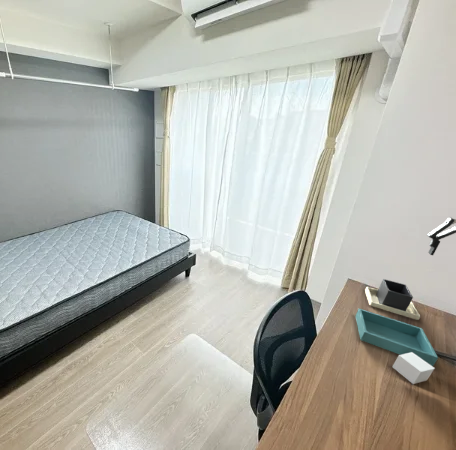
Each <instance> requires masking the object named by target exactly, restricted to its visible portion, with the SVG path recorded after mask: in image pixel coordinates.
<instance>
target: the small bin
mask: <svg viewBox="0 0 456 450" xmlns="http://www.w3.org/2000/svg"><path fill="white" fill-rule="evenodd" d="M377 290H378V291H377V294H376V295H377V298H378V301H379V304H382V305H385V306H389V307H392V308H395V309H399V310H402V311H405V312H406V310H407V308H408V306H409V304H410V302H411V301H412V300H413V299H414V297H413V295H412V293H411V292H410V291H411V290H409V288H408V286H407V284H404V283H399V282H398V281H397V282H396V281H392V280H390V279H385V278H383V279H382V280H381V282H380V285H379V287H378V289H377Z"/></svg>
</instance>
